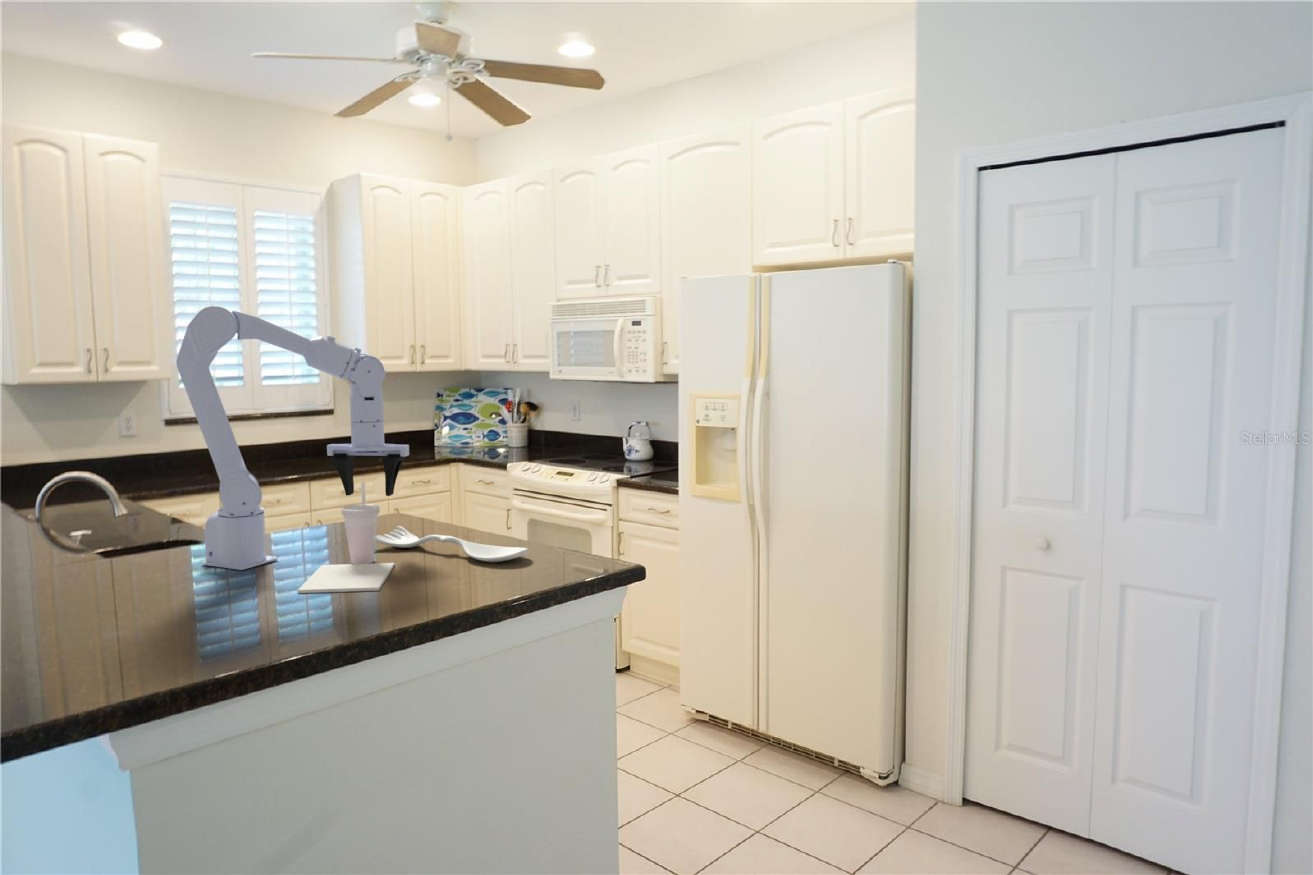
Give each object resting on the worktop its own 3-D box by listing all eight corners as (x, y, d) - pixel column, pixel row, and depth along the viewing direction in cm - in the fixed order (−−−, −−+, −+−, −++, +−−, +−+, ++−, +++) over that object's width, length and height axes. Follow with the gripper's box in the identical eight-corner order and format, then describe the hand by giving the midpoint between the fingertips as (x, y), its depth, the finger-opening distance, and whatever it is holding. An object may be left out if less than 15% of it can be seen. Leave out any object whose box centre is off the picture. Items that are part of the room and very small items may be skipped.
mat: (321, 567, 146) (321, 565, 146) (394, 565, 148) (394, 562, 148) (297, 593, 132) (297, 590, 132) (378, 590, 133) (378, 587, 133)
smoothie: (374, 566, 147) (371, 486, 146) (337, 566, 148) (334, 485, 146) (386, 557, 154) (384, 480, 152) (350, 557, 154) (348, 479, 152)
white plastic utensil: (398, 541, 168) (398, 523, 167) (537, 559, 154) (537, 540, 154) (365, 551, 160) (364, 532, 159) (508, 571, 146) (508, 551, 146)
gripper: (318, 422, 153) (321, 498, 154) (399, 423, 152) (401, 499, 154) (334, 419, 160) (337, 491, 161) (412, 419, 159) (413, 492, 161)
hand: (369, 494), depth 158 cm, fingers open, 7 cm apart
